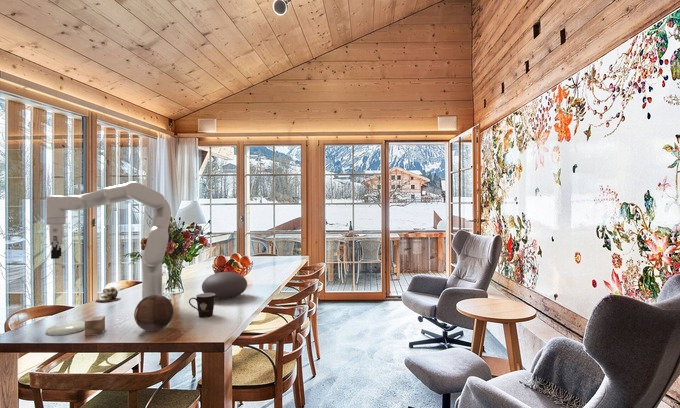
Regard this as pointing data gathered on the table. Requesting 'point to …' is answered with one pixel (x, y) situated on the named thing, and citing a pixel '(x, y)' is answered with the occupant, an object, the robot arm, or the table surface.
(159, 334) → the table surface
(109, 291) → the skull
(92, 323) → the walnut cube
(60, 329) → the sage plate
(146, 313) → the wooden sphere
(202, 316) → the coffee mug
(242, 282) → the flattened ellipsoid
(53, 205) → the robot arm
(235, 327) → the table surface
